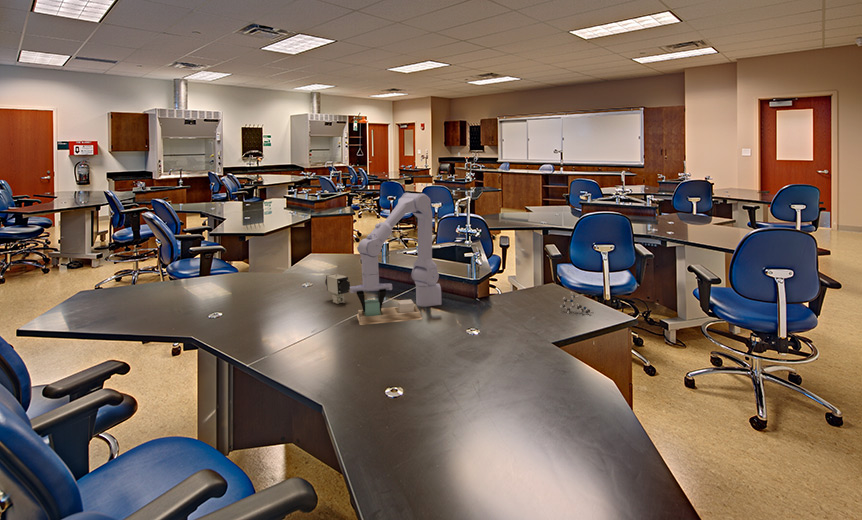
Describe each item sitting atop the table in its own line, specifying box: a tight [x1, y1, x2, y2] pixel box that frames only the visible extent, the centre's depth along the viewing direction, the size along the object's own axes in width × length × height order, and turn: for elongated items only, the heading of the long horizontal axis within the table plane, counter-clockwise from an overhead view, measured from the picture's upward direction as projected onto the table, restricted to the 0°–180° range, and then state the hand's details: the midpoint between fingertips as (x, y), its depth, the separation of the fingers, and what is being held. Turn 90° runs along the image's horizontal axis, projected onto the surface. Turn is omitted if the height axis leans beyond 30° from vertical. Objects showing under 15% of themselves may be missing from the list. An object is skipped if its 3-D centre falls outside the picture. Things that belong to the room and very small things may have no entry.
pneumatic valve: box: [324, 273, 351, 305], centre depth 200 cm, size 6×12×12 cm, turn 41°
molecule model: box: [559, 291, 594, 316], centre depth 181 cm, size 6×12×8 cm, turn 76°
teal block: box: [364, 298, 380, 317], centre depth 176 cm, size 5×5×5 cm
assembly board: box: [356, 304, 424, 326], centre depth 178 cm, size 22×12×3 cm, turn 103°
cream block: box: [396, 299, 415, 314], centre depth 179 cm, size 5×5×5 cm
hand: (372, 310), depth 176 cm, fingers closed on teal block, 5 cm apart
